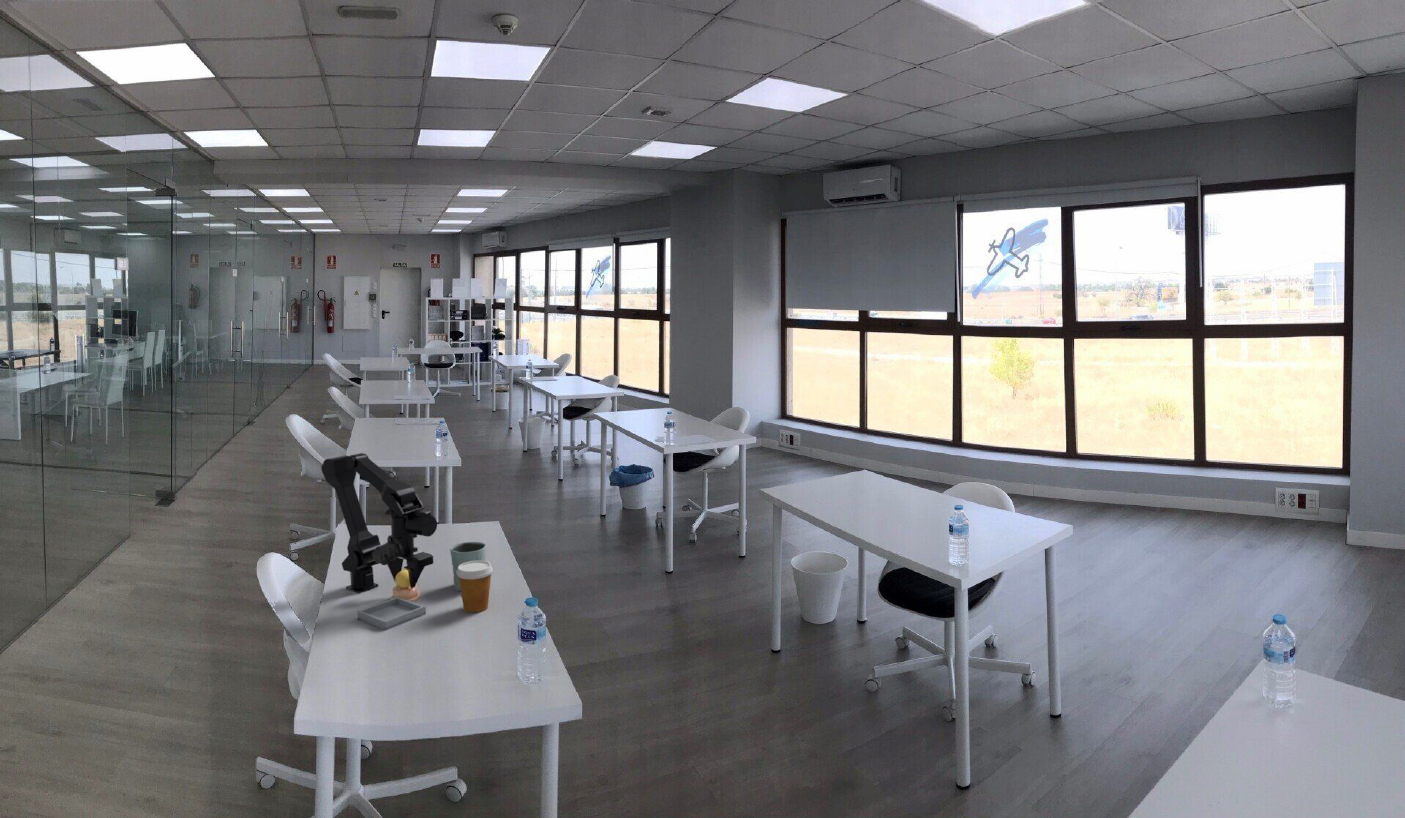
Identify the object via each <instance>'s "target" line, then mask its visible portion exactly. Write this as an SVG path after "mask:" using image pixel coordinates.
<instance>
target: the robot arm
mask: <svg viewBox="0 0 1405 818" xmlns="http://www.w3.org/2000/svg"><path fill="white" fill-rule="evenodd" d="M320 466H321V468H320V469H321V473H322V474H323V477H324V479H325V481H326V483H327V484H328V485H330V486H331V487H332V488H333V489H334V490H335V493H336V498H337V500H338V503H339V506H340V509H341V513H342V516H343V519H344V522H345V525H346V529H347V531H348V534H349V539H348V542H347V547H346V548H347V554H348V555H347V556H346V558H344V560H343V561H342V562H341V567H342V569H343V571H345V572H348V573H350V576H349V578H350V585H347V586H345V589H347V590H350V591H352V592H355V593H363V592H365V591H369V590H371V589H374V588H377V587H379V584H378V583H376V582H375V580H374V567H373V566H375V565H379V564H380V565H382V566H387V567H388V569H389V572H390V574H391V577H392V579H393V582H395V577H396V575H397V574H398V573H399V572H400V571H403V570H402V569H403V568H404V570H408V573H409V581H410V586H411V588H414V587H415V585H417V583H418V581H419V579H420V576H421V574H422V572H423V571H424V569H425V567H427V566H430V565H433V564H434V563H435V562H434V560H435V559H434V555H432V554H431V553H428V552H424V551H422V552H418V551H419V550H418V547H416V546H415V539H416V538H418V536H421V537H428V538H429V537H431V536H433V535H434V534H435V532H436V531H437V528H438V521H437V519H436V517H434V516H433V515H432V512H431V510H425V507H424V504H423V502H422V501H421V500H420V498H419V495H418V494H417V492H416V490H415V487H413V486H412V485H410V484H408V483H406V482H404V481H402V480H398V479H395V478H393V477H392V476H390V474H389V473H387V472H386V471H384V470H383V469H382V468H381V467H380V466H379V465H378V464H376V463H375V462H374V461H372V460H371V459H370V458H369V456H368V455H367V453H364V452H360V453H355V454H349V455H340V456H335V457H330V458H326V459H324V460H323V463H322V465H320ZM357 474H358V475H359V476H360V477H362V478H363V479H364V480H365V481H366V482H368V483H369V485H370V486H372V487H373V488H375V489H376V490H377V491H378V492H379V493H380V497H381V500H382V502H383V503H384V504H385V505H386V506H387V507H388V509H387V510H386V511H385V512H384V514H385V516H390V529H391V531H390V532H391V534H390V535H388V537H387V540H386V542H385V543H384V544H381V543H380V542H381V541H380V537H379V535H378V534H372V533H371V532H370V531H369V529H368V525H367V523H366V520H365V516H364V513H363V509H362V507H361V504H360V499H359V497H358V494H357V491H356V488H355V480H356V476H357ZM416 552H418V553H416ZM404 560H405V561H406V566H403V564H404V563H403V562H404Z"/></svg>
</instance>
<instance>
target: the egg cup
mask: <svg viewBox="0 0 1405 818" xmlns="http://www.w3.org/2000/svg"><path fill="white" fill-rule="evenodd" d="M396 597H399V598H402V599H405V600H408V601H411V602H415V601H416V600H418V599H420V597H421V593H420V592H419V591H418V585H417V584H416V585H415V587H414V588H411V586H410V587H408V588H400V587H398V586H397V585H395V586H394V587H393V588H392V595H391V596H390V599H393V598H396Z"/></svg>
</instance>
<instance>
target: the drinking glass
mask: <svg viewBox="0 0 1405 818" xmlns="http://www.w3.org/2000/svg"><path fill="white" fill-rule="evenodd" d="M449 549H450V556H451V557H450V558H451V565H452V572H453V573H452V574H453V585H454V590H456V591H458V592H461V589H460V584H459V577H458V576H457V573H456V571H457V570H458V566H459V565H461V564H463V563H465V562H470V561H486V558H487V557H486V556H487V545H486V543H485V542H479V541H466V542H460V543H456V544H454V545H452V546H451V547H450V548H449Z"/></svg>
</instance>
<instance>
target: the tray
mask: <svg viewBox="0 0 1405 818" xmlns="http://www.w3.org/2000/svg"><path fill="white" fill-rule="evenodd" d="M426 614H427V607H426V606H425V605H422V604H419V603H417V602H415V601H412V602H411V601H408V600H405V599H402V598H399V597H396V598H393V599H391V598H390V599H387V600H385V601H383V602H379V603H376V604H374V605H372V606H371V605H370V606H369V607H366V608H363V609H361V610H358V611H357V612H356V615H357V620H359V621H361V622H364V623H366V624H369V625H373V626H375V627H377V628H380V629H382V630H385V631H387V630H390V629H393V628H394V627H397V626H400V625H402V624H404V623H407V622H409V621H412V620H415V619H417V618H419V617H422V616H425V615H426Z"/></svg>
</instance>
